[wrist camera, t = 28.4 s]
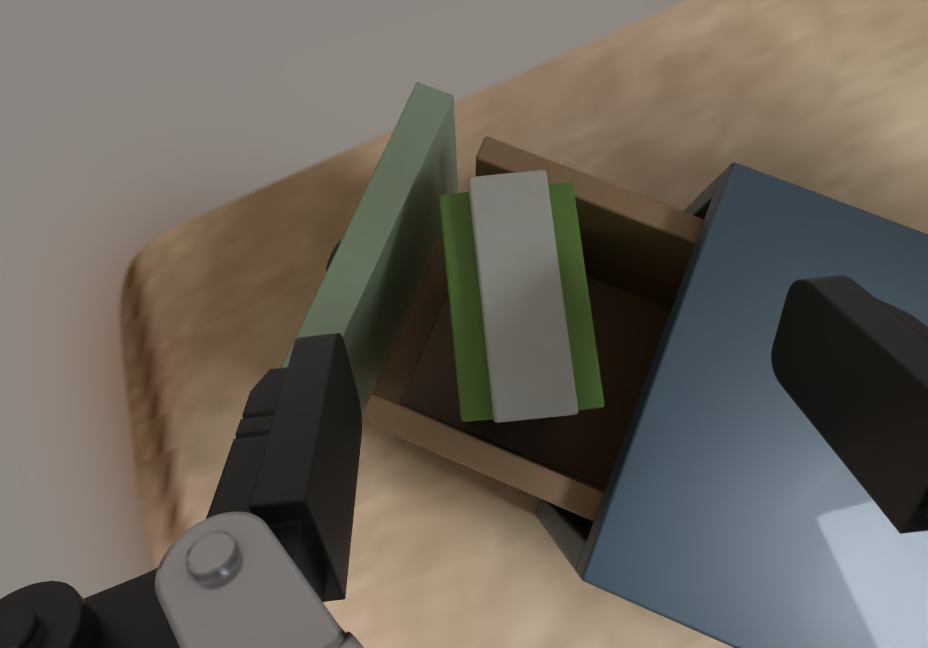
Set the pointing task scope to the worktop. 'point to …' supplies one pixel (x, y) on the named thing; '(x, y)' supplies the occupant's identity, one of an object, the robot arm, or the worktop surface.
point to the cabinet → (755, 445)
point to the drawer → (393, 290)
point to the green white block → (519, 299)
